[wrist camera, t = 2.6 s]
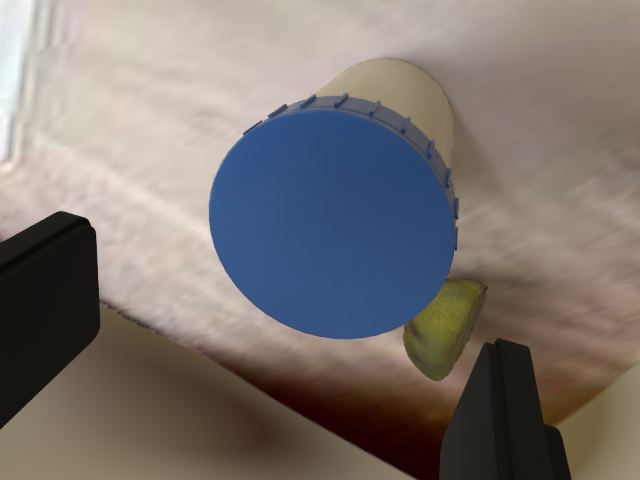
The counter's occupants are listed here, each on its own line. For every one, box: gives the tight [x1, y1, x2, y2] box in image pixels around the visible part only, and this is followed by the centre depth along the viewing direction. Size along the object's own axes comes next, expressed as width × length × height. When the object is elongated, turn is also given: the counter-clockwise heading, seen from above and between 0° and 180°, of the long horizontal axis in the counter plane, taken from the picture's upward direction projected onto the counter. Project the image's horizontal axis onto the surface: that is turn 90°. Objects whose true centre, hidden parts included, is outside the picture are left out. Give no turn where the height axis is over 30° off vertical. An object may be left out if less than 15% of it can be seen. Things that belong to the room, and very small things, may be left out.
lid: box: [209, 93, 459, 339], centre depth 15 cm, size 7×7×2 cm
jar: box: [314, 59, 454, 168], centre depth 19 cm, size 6×6×11 cm
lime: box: [403, 279, 488, 381], centre depth 24 cm, size 4×5×5 cm
